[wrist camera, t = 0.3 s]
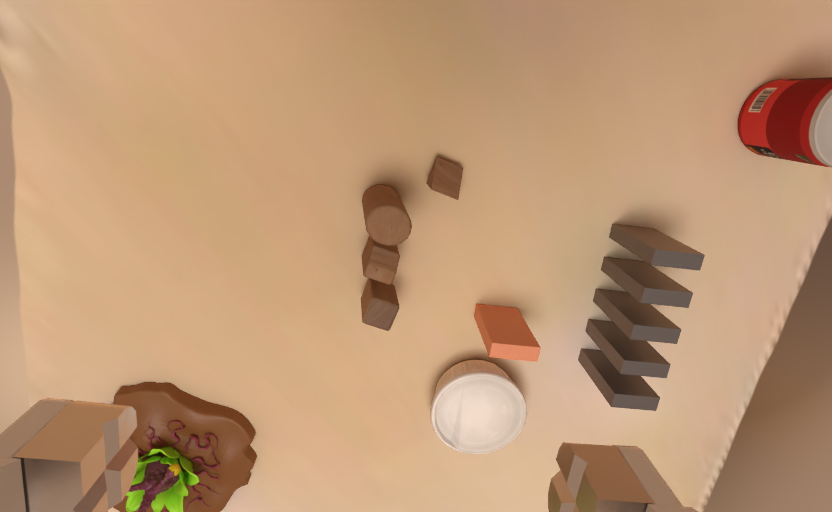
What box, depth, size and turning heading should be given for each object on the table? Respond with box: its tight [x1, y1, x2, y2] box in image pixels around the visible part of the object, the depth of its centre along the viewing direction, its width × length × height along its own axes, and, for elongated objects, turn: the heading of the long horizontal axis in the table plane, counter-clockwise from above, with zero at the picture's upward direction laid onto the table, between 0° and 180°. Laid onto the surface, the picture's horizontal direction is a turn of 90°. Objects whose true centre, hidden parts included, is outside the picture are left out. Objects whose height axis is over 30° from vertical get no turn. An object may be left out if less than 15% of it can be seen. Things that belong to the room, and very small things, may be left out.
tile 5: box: [578, 349, 660, 411], centre depth 59 cm, size 2×5×10 cm, turn 82°
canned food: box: [738, 78, 832, 167], centre depth 51 cm, size 8×8×11 cm
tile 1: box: [609, 224, 705, 270], centre depth 54 cm, size 2×5×10 cm, turn 82°
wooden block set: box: [361, 157, 463, 331], centre depth 53 cm, size 18×9×10 cm, turn 157°
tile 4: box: [586, 319, 670, 378], centre depth 58 cm, size 2×5×10 cm, turn 82°
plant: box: [113, 382, 257, 512], centre depth 60 cm, size 20×20×11 cm
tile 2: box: [601, 257, 693, 308], centre depth 55 cm, size 2×5×10 cm, turn 83°
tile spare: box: [474, 304, 540, 362], centre depth 56 cm, size 2×5×10 cm, turn 83°
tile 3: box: [593, 289, 681, 344], centre depth 57 cm, size 2×5×10 cm, turn 82°
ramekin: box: [431, 360, 527, 454], centre depth 62 cm, size 11×11×5 cm
